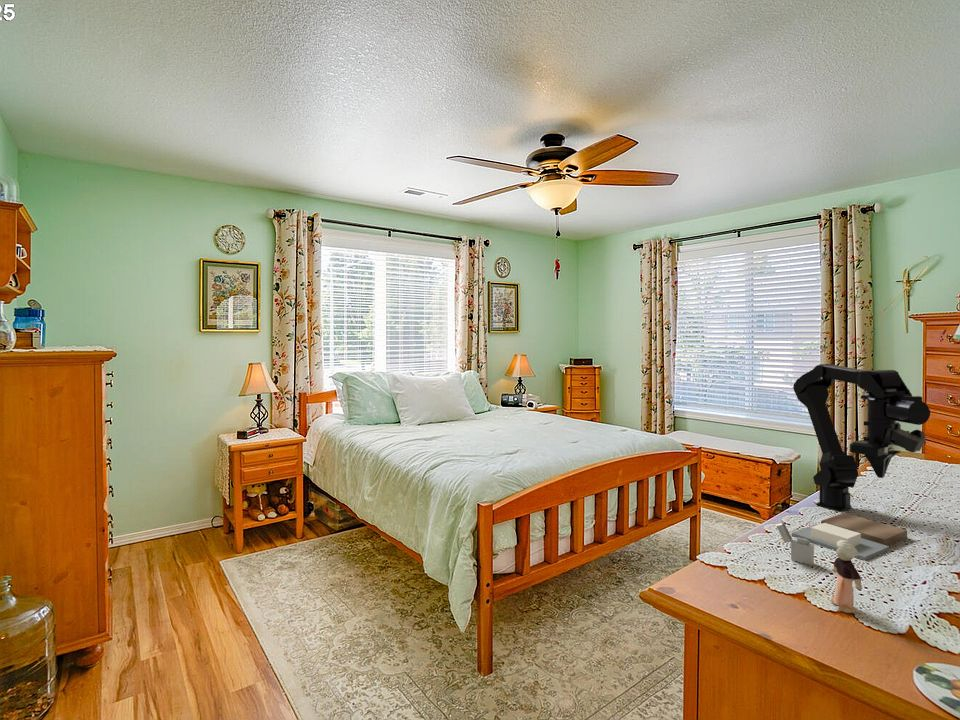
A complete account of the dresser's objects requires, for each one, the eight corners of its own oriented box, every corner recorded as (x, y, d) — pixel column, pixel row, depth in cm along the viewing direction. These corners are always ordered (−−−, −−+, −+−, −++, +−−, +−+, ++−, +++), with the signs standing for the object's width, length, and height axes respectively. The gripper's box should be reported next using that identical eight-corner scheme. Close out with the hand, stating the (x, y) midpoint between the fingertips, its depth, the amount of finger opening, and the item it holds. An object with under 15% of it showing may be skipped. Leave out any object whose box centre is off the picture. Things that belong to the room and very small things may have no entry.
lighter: (813, 563, 110) (814, 527, 109) (812, 565, 108) (812, 530, 108) (777, 554, 115) (777, 520, 114) (775, 556, 113) (775, 522, 113)
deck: (821, 528, 129) (821, 520, 129) (843, 520, 134) (843, 512, 134) (884, 547, 116) (884, 539, 116) (907, 538, 122) (907, 530, 121)
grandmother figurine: (819, 598, 95) (820, 533, 95) (838, 596, 96) (838, 532, 95) (852, 620, 88) (853, 551, 87) (872, 619, 88) (873, 549, 88)
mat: (791, 535, 124) (791, 532, 124) (816, 527, 130) (816, 524, 130) (864, 560, 110) (864, 557, 110) (889, 549, 115) (889, 546, 115)
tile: (810, 537, 121) (810, 527, 121) (824, 532, 124) (824, 522, 124) (847, 549, 114) (847, 538, 114) (860, 543, 117) (860, 533, 117)
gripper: (901, 426, 116) (900, 491, 117) (937, 418, 125) (936, 479, 126) (848, 420, 126) (848, 480, 127) (885, 413, 135) (884, 469, 136)
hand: (880, 477), depth 128 cm, fingers closed
